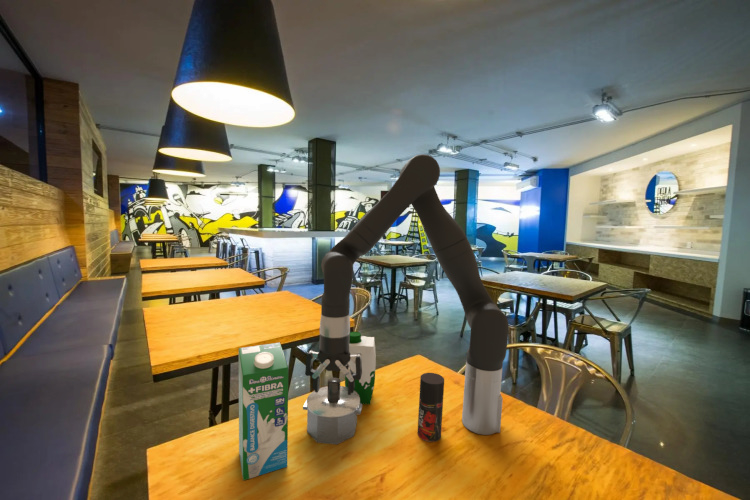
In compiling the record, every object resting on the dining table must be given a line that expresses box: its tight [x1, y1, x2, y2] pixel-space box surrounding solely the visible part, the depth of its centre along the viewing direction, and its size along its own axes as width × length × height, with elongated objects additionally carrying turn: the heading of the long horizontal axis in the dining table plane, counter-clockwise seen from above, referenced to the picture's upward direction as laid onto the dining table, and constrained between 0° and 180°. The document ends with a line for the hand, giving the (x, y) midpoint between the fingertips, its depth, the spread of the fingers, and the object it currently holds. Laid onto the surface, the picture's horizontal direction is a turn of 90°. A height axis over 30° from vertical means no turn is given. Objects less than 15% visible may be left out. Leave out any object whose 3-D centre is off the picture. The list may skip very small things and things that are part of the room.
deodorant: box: [417, 372, 445, 443], centre depth 82 cm, size 6×6×15 cm
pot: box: [302, 399, 363, 445], centre depth 84 cm, size 15×12×7 cm
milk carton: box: [238, 342, 289, 481], centre depth 71 cm, size 9×9×25 cm
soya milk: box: [344, 331, 377, 405], centre depth 98 cm, size 9×9×20 cm
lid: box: [306, 377, 360, 418], centre depth 83 cm, size 14×14×6 cm
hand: (333, 392), depth 83 cm, fingers open, 8 cm apart
